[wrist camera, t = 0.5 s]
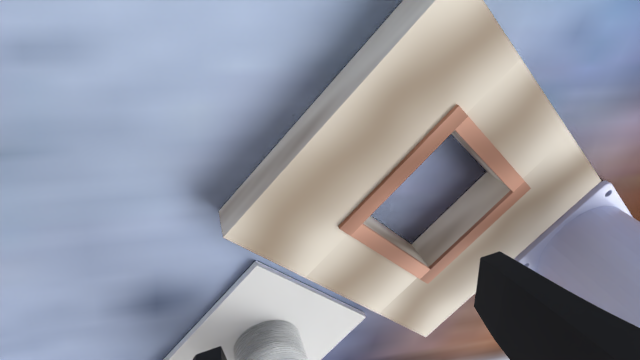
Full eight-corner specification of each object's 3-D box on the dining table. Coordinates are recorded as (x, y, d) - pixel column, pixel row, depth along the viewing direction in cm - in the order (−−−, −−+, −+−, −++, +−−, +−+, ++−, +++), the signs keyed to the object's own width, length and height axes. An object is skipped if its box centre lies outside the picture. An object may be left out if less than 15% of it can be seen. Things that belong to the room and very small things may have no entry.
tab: (363, 312, 27) (366, 316, 26) (273, 397, 28) (275, 402, 28) (255, 260, 22) (257, 265, 21) (155, 367, 24) (155, 373, 23)
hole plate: (573, 164, 25) (604, 182, 24) (411, 313, 28) (427, 339, 26) (434, -36, 17) (466, -30, 15) (218, 211, 19) (223, 240, 18)
